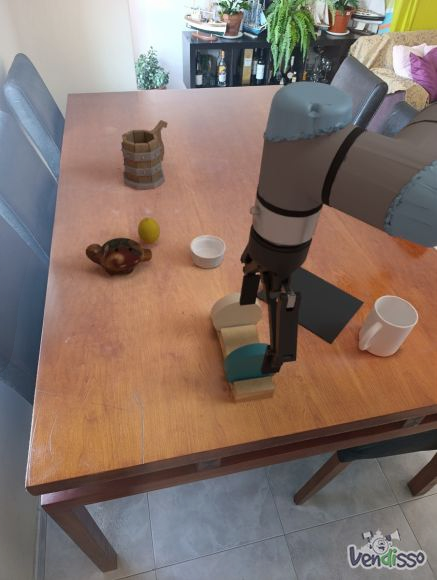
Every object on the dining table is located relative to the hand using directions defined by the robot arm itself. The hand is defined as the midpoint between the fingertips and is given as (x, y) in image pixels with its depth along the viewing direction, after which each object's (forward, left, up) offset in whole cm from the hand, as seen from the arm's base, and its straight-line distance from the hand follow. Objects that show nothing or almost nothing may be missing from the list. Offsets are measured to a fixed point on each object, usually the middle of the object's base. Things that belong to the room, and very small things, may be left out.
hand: (257, 334), depth 60 cm
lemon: (+45, -16, -16) cm, 50 cm away
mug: (-14, -26, -16) cm, 33 cm away
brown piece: (+43, -5, -16) cm, 46 cm away
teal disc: (0, 0, -9) cm, 9 cm away
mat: (+3, -28, -16) cm, 32 cm away
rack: (+5, -4, -16) cm, 17 cm away
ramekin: (+30, -22, -16) cm, 40 cm away
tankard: (+71, -40, -16) cm, 83 cm away
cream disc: (+9, -7, -9) cm, 15 cm away
